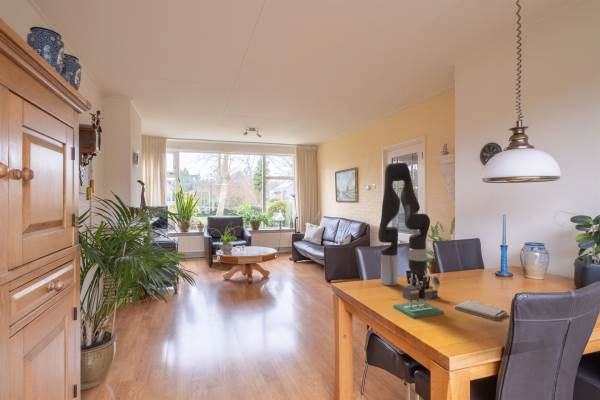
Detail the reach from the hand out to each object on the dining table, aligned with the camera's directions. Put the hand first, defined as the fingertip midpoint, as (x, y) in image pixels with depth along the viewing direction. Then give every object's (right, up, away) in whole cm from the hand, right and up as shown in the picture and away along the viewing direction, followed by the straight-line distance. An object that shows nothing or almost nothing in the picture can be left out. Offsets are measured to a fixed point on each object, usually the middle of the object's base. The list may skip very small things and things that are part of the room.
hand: (417, 296), depth 143 cm
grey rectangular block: (0, -1, 0) cm, 1 cm away
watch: (+14, -6, +19) cm, 25 cm away
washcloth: (+27, -7, -2) cm, 28 cm away
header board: (0, -6, 0) cm, 6 cm away
